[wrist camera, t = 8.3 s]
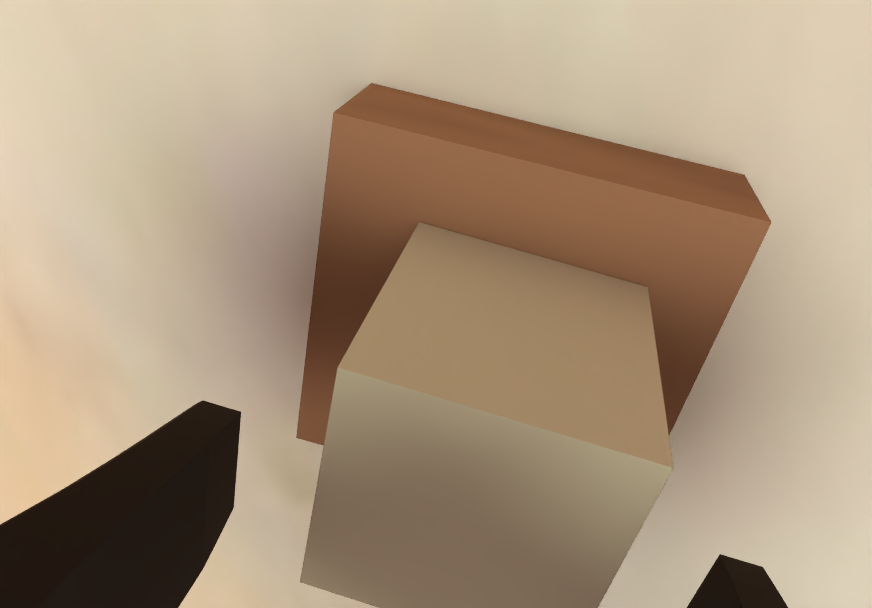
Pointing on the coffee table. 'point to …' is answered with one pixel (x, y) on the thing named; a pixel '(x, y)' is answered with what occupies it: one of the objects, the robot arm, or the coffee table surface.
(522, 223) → the walnut base
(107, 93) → the coffee table surface
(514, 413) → the beige block
